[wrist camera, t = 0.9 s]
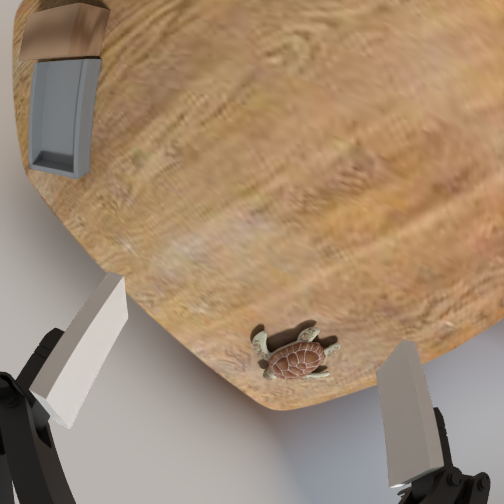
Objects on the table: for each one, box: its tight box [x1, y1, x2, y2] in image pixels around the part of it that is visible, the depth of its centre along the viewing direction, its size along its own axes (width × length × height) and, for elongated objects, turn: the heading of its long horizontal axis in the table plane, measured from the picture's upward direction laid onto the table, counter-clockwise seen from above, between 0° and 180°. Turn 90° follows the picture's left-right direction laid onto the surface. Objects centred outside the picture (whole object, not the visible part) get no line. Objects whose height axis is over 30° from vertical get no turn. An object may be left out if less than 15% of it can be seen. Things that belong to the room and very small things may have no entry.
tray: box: [29, 59, 102, 179], centre depth 32 cm, size 17×11×3 cm, turn 166°
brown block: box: [19, 3, 110, 61], centre depth 24 cm, size 7×10×7 cm
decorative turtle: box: [252, 327, 340, 380], centre depth 51 cm, size 18×17×5 cm
